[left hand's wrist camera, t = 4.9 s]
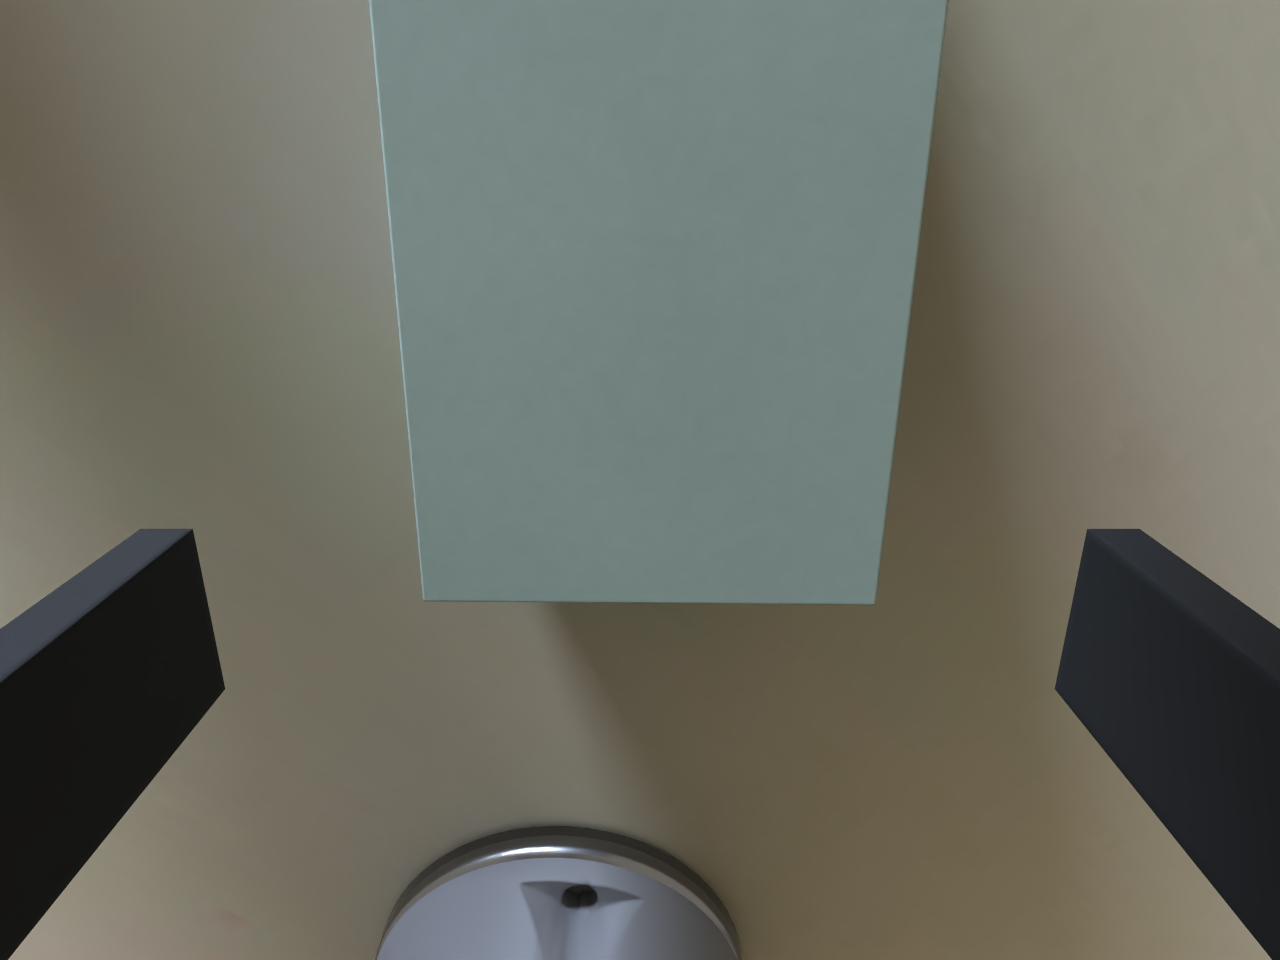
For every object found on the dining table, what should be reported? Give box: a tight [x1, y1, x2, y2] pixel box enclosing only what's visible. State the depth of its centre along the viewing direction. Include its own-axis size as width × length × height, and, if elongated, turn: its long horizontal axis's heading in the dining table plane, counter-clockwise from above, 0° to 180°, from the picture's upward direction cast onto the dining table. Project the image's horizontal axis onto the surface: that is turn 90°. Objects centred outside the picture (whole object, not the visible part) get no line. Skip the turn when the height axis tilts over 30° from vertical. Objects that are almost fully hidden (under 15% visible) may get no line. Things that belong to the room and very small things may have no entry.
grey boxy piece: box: [369, 0, 949, 605], centre depth 21 cm, size 18×11×9 cm, turn 179°
